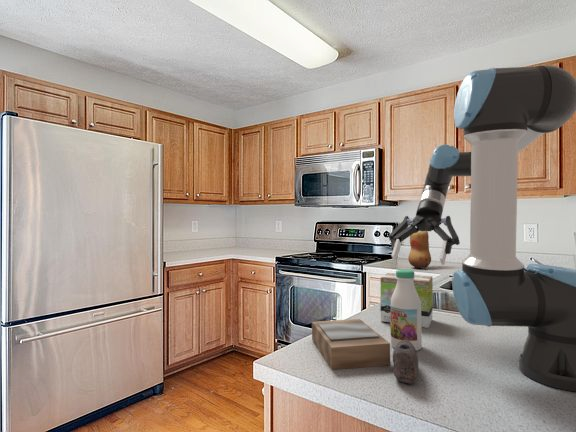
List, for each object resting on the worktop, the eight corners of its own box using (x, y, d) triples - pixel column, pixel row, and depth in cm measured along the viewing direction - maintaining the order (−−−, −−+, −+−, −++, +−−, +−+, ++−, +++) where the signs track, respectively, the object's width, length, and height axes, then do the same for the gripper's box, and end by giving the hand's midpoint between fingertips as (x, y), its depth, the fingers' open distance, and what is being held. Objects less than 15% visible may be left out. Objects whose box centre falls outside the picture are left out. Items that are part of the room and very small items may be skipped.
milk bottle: (399, 339, 100) (398, 267, 100) (426, 346, 94) (425, 270, 94) (385, 346, 95) (384, 270, 94) (413, 354, 89) (412, 274, 89)
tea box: (380, 322, 116) (379, 276, 116) (386, 314, 125) (386, 272, 125) (429, 328, 109) (429, 280, 109) (433, 320, 118) (432, 274, 118)
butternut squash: (404, 268, 228) (403, 229, 228) (415, 266, 237) (415, 228, 237) (424, 271, 217) (424, 229, 217) (435, 268, 226) (435, 228, 226)
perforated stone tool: (395, 359, 87) (394, 330, 87) (418, 362, 85) (417, 332, 85) (390, 387, 73) (390, 353, 73) (418, 391, 71) (417, 356, 71)
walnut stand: (390, 364, 83) (390, 341, 83) (331, 369, 81) (331, 345, 81) (359, 336, 103) (359, 317, 103) (312, 339, 101) (311, 320, 101)
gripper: (475, 215, 110) (466, 271, 98) (395, 215, 125) (379, 264, 113) (472, 197, 106) (462, 254, 94) (389, 200, 120) (372, 249, 109)
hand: (416, 260), depth 103 cm, fingers open, 13 cm apart
